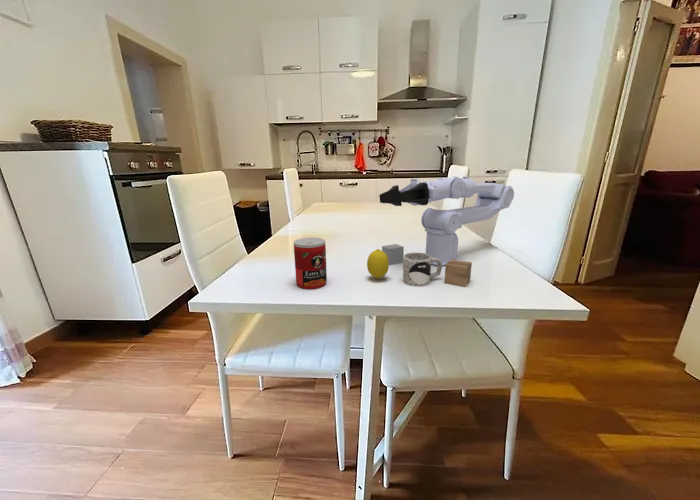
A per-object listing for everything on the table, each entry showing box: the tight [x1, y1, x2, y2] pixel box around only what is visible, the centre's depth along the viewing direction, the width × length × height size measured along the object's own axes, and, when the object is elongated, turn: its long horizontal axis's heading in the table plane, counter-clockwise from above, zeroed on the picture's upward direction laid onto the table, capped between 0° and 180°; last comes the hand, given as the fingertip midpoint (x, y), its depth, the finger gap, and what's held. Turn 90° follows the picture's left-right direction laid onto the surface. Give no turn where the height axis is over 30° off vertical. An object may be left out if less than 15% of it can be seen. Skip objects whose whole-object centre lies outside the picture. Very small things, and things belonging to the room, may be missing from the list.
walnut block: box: [444, 259, 473, 288], centre depth 78 cm, size 5×5×5 cm
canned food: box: [293, 237, 328, 290], centre depth 77 cm, size 8×8×11 cm
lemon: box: [366, 248, 390, 280], centre depth 80 cm, size 6×6×8 cm
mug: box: [402, 252, 442, 287], centre depth 79 cm, size 10×7×7 cm, turn 103°
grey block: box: [381, 243, 405, 266], centre depth 94 cm, size 5×4×5 cm
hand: (390, 198), depth 79 cm, fingers open, 7 cm apart
